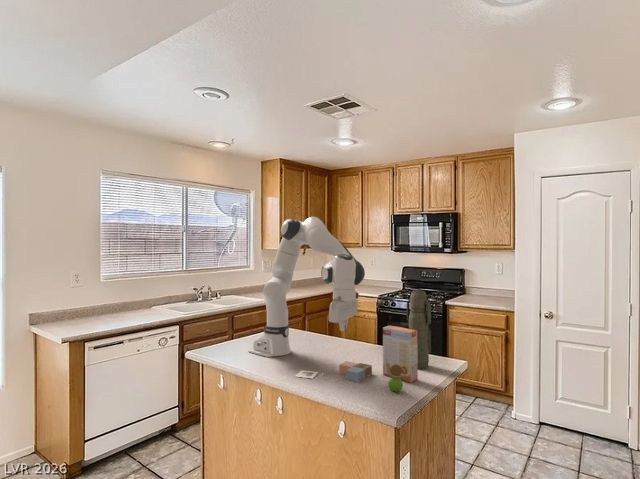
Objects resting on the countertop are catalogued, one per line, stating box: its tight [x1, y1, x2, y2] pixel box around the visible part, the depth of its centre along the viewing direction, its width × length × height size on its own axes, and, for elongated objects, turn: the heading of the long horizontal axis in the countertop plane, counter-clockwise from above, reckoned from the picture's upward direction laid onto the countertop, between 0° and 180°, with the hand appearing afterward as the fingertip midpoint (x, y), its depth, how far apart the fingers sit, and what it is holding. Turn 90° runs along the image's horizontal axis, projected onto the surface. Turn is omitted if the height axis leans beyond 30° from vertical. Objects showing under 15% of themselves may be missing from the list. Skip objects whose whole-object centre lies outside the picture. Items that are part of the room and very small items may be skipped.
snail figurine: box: [386, 359, 404, 393], centre depth 150 cm, size 5×6×12 cm
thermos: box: [406, 289, 432, 370], centre depth 179 cm, size 9×12×35 cm
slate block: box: [345, 367, 366, 383], centre depth 163 cm, size 6×6×4 cm
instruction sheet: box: [294, 369, 319, 380], centre depth 168 cm, size 8×8×1 cm
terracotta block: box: [338, 360, 359, 376], centre depth 171 cm, size 6×6×4 cm
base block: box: [353, 362, 373, 379], centre depth 168 cm, size 6×6×4 cm
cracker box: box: [382, 325, 419, 383], centre depth 165 cm, size 14×6×21 cm, turn 43°
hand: (343, 330), depth 154 cm, fingers closed
